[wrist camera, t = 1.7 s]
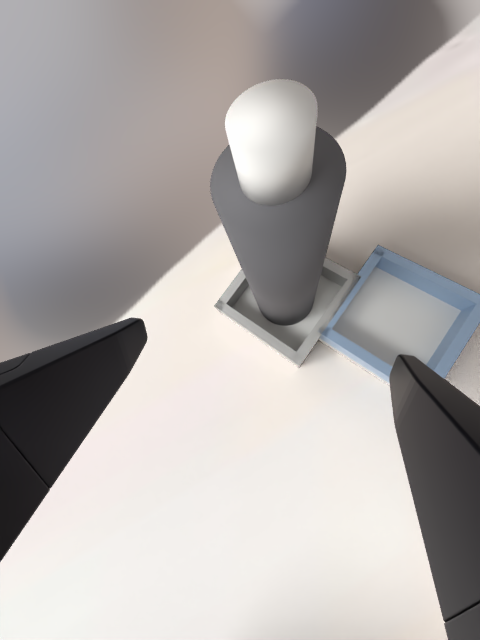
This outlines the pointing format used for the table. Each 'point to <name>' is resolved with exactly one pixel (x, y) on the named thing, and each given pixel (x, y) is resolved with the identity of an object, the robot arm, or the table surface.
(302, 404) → the table surface
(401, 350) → the divided tray
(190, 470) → the table surface
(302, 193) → the gray bottle
